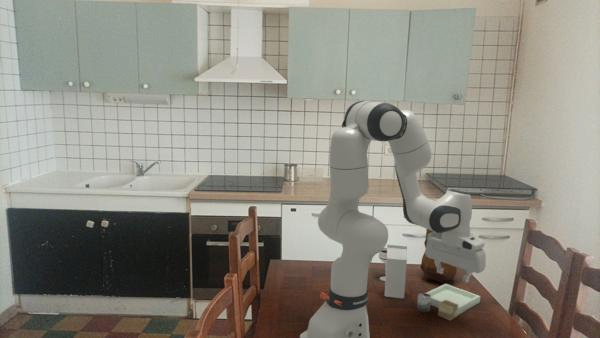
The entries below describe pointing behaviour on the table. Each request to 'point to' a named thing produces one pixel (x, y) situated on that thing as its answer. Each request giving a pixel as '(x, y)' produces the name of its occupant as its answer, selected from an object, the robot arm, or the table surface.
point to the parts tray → (453, 297)
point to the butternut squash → (431, 269)
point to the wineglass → (383, 260)
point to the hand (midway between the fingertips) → (452, 277)
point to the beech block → (448, 310)
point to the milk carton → (395, 271)
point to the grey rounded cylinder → (423, 302)
